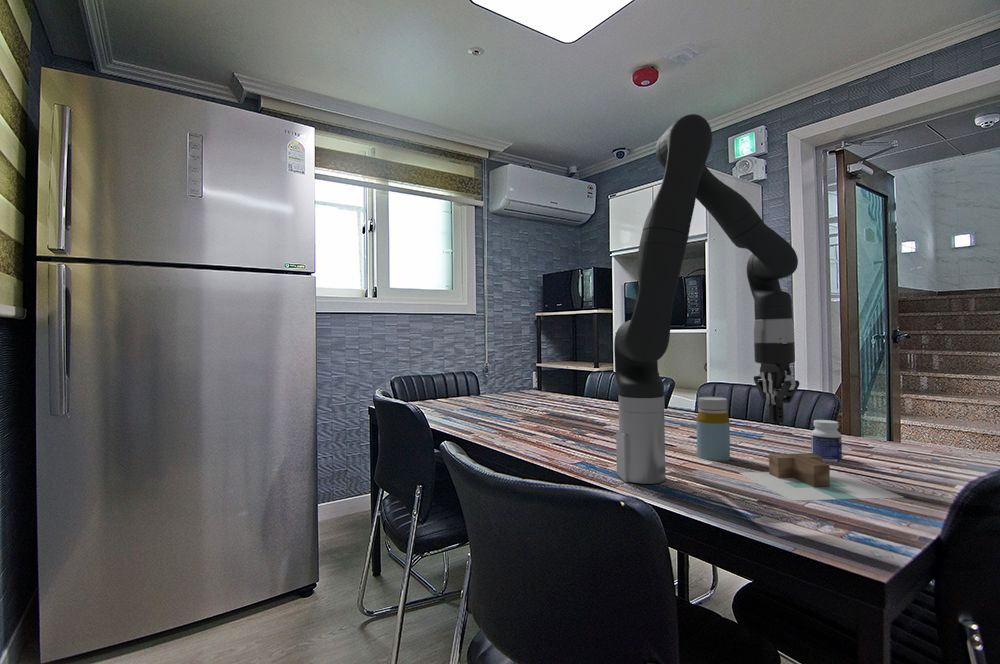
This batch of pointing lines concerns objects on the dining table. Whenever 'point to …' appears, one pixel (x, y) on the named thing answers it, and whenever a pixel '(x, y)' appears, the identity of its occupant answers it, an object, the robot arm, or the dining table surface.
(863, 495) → the mat
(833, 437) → the pill bottle
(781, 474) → the tee block
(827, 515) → the dining table surface
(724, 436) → the bottle
